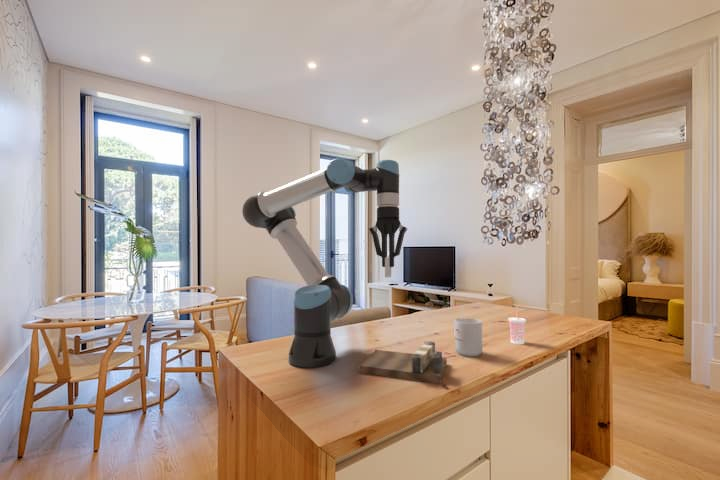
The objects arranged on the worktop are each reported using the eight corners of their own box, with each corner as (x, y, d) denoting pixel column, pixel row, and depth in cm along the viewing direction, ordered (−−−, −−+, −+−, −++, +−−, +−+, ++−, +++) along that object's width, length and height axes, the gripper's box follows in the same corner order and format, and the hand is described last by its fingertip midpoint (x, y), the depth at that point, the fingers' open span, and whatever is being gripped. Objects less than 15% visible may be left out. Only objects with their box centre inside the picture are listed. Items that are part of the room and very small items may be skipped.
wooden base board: (359, 372, 96) (359, 351, 96) (375, 355, 111) (375, 337, 111) (440, 383, 88) (440, 360, 88) (446, 364, 103) (446, 344, 103)
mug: (488, 355, 111) (487, 322, 111) (466, 358, 108) (465, 324, 108) (465, 345, 122) (465, 315, 123) (444, 348, 119) (444, 317, 119)
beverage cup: (518, 339, 130) (517, 304, 131) (530, 344, 124) (529, 306, 125) (505, 340, 129) (504, 304, 129) (516, 345, 123) (515, 307, 123)
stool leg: (425, 354, 105) (425, 340, 105) (435, 356, 103) (435, 341, 104) (410, 371, 90) (410, 355, 90) (421, 373, 89) (421, 356, 89)
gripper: (409, 207, 113) (409, 276, 112) (373, 209, 117) (373, 275, 117) (404, 204, 106) (404, 278, 105) (366, 206, 110) (366, 277, 110)
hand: (388, 276), depth 111 cm, fingers closed
